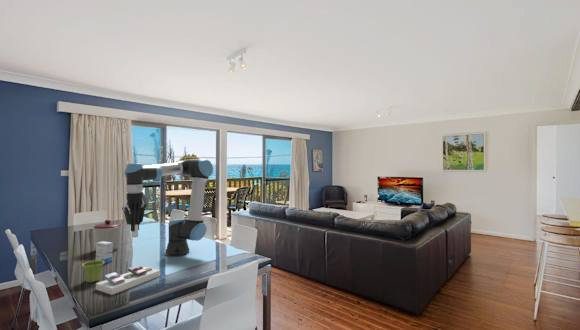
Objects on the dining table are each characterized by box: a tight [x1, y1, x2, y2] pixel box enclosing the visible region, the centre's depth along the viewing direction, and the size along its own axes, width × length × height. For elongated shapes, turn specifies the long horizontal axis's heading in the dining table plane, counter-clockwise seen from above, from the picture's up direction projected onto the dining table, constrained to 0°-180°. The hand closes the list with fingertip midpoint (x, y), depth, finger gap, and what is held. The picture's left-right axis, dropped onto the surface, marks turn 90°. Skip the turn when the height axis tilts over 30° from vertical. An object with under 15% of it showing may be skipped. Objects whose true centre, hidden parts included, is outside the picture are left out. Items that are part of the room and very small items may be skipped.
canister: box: [91, 219, 123, 251], centre depth 199 cm, size 18×18×21 cm
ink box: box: [95, 241, 114, 264], centre depth 175 cm, size 9×5×12 cm, turn 71°
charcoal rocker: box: [127, 264, 147, 276], centre depth 148 cm, size 8×5×3 cm, turn 64°
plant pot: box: [81, 260, 105, 283], centre depth 146 cm, size 9×9×9 cm
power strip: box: [95, 266, 161, 296], centre depth 144 cm, size 12×26×3 cm, turn 154°
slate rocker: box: [104, 271, 125, 285], centre depth 137 cm, size 8×5×3 cm, turn 64°
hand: (135, 236), depth 151 cm, fingers closed
